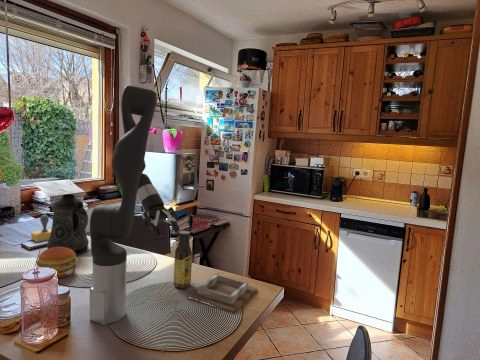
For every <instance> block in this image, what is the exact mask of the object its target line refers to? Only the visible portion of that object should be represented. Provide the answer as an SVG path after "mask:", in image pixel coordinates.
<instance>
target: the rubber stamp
mask: <svg viewBox="0 0 480 360" xmlns="http://www.w3.org/2000/svg"><path fill="white" fill-rule="evenodd" d="M49 220H50V219H49V215H47V214H42V215H41V216H40V220H39V221H40V223H41V225H42V230H37V231H32V232H30V233H31V234H30V235H31V236H30V237H31V238H30V239H32V240H31V241H33V240H34V241H33V242H35V241H36V242H35V243H40V241H41V242H44V241H49V238H50V235H51V229H52V228H47V226H48V223H49Z"/></svg>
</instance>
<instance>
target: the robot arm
mask: <svg viewBox="0 0 480 360" xmlns="http://www.w3.org/2000/svg"><path fill="white" fill-rule="evenodd" d="M157 102H158V95H157V92H156V91H154V90H152V89H148V88H144V87H140V86H137V85H136V86H135V85H131V84H128V85H125V87H124V88H123V89H122V92H121V101H120V108H121V111H120V112H121V118H122V121H121V122H122V127H123V135H122V137H121V138H119V140H117V142H116V143H115V146H114V150H113V154H112V158H111V168H112V172H113V174H114V176H115V178H116V180H117V182H118V185H119V187H120V191H121V202H120V205H119V206H118V205H103V204H102V205H101V204H100V205H97V206H95V207H94V208H93V209H92V211H91V214H90V218H89V236H90V253H91V257H92V286H91V287H90V288H89V320H90V321H92V322H95V323H98V324H99V325H102V326H106V325H108V324H112V323H117V322H119V321H121V320H122V319H123V318H125V316H126V315H127V268H128V267H127V259H128V257H127V256H128V255H127V253H128V252H127V249H125V247H124V246H120V245H119V244H117V243H116V242H114V241H113V240H111V239H115V240H125V239H127V238H129V236H130V235H131V233H132V229H133V225H134V218H135V211H136V202H137V198H138V201H139V202H140V204H141V206H142V208H143V210H144V212H143V213H142V214H141V215H140V217H141V219H142V222H143V224H144V226H145V229H147V230H149V229H150V230H152V232H153V233H154V235H155V237H157V238H162V236H163V233H162V231H161V229H160V227H159V225H158V223H160V222H165V223H168V224H170V225H171V228H172V229H173V231H174V233H175V234H177V233H178V234H179V232H180V231H181V230H180V226H179V224H178V220H179V219H180V218H179V216H178V214H177V213H176V211H175V209H174V208H173V206H170V207H169V208H166V207H165V203H164V201H163V199H162V197H161V196H160V193H159V192H158V190H157V188H156V187H155V186H154V185H153V183H152V180H151V179H150V177H149V176H148V175H147V174H145V173H142V172H144V171H145V169H146V162H145V157H146V151H147V146H148V144H147V143H148V140H149V134H150V133H149V132H150V129H151V126H152V122H153V118H154V114H155V111H156V107H157ZM133 115H136V116H141V118H140V119H139V121H138V122H137V123H136V122H135V120H134V116H133Z"/></svg>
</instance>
